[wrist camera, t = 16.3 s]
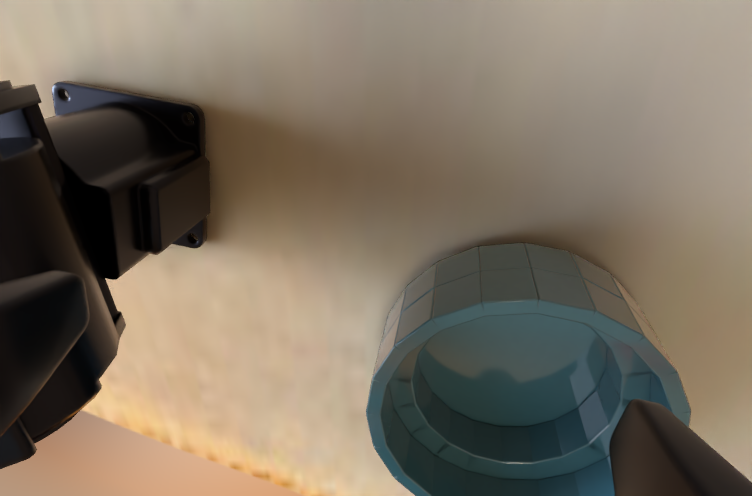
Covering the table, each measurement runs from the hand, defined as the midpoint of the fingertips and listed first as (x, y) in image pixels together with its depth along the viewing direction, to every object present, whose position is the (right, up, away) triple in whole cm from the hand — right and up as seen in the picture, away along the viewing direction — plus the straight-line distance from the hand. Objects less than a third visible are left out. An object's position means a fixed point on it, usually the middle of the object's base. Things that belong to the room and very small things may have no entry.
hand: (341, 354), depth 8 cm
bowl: (+7, -3, +15) cm, 17 cm away
